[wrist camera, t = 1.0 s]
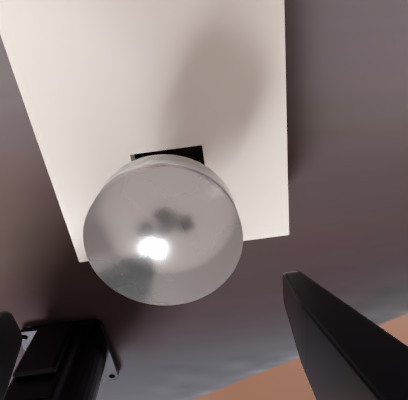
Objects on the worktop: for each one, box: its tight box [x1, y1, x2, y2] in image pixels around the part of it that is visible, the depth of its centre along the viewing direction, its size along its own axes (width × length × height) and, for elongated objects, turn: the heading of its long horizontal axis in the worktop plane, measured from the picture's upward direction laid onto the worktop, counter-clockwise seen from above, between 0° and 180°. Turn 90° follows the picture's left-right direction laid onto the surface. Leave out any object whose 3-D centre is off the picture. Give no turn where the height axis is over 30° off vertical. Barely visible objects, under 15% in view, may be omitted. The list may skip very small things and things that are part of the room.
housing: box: [0, 0, 289, 262], centre depth 16 cm, size 21×12×4 cm, turn 7°
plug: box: [83, 154, 243, 305], centre depth 14 cm, size 6×6×5 cm
